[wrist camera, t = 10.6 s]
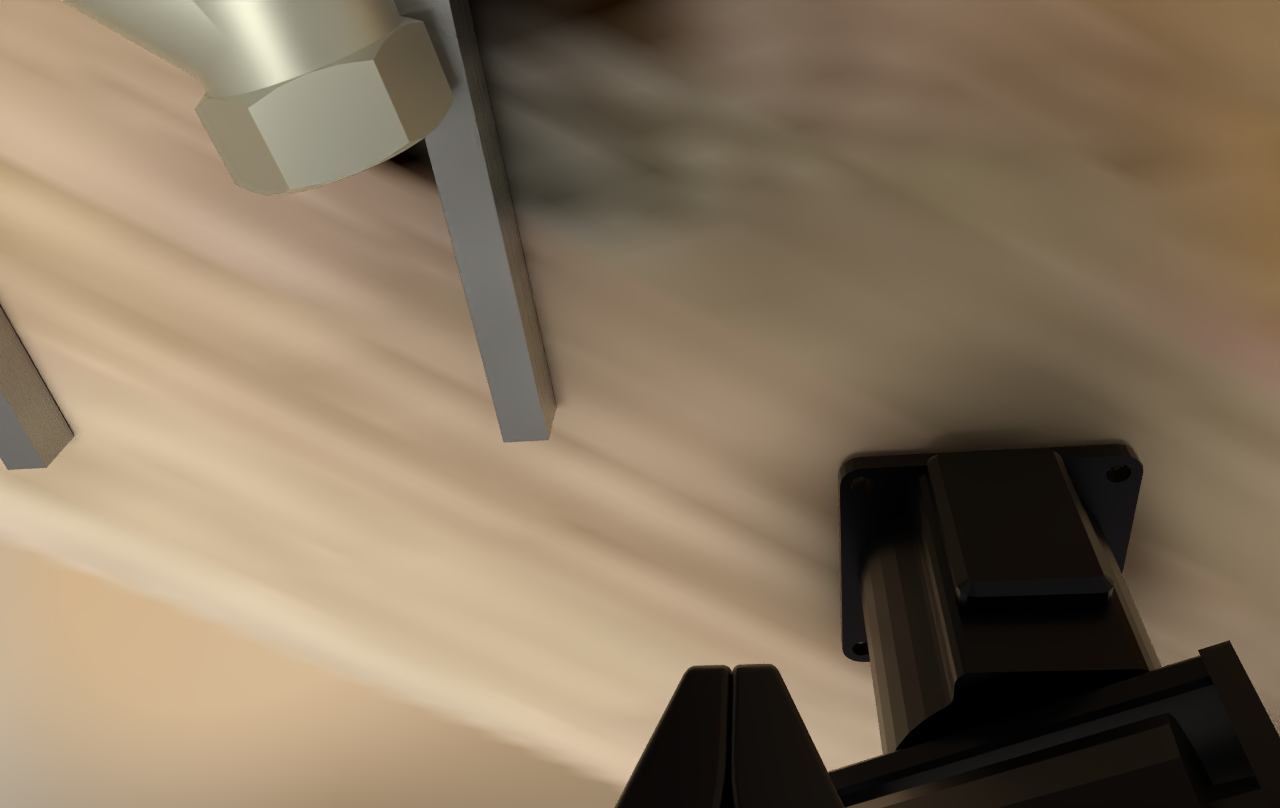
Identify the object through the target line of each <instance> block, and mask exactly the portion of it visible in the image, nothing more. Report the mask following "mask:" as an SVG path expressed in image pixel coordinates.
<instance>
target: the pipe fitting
mask: <svg viewBox="0 0 1280 808" xmlns="http://www.w3.org/2000/svg"><path fill="white" fill-rule="evenodd" d="M60 1H62V2H64V3H65V4H67V5H69V6H71V7H73V8H74V9H76V10H78V11H80V12H81V13H83V14H85V15H87V16H88V17H90V18H92V19H94V20H95V21H97V22H99V23H101V24H102V25H104V26H106V27H108V28H109V29H111V30H113V31H115V32H116V33H118V34H120V35H122V36H123V37H125V38H127V39H129V40H130V41H132V42H134V43H136V44H137V45H139V46H141V47H143V48H144V49H146V50H148V51H150V52H151V53H153V54H155V55H157V56H158V57H160V58H162V59H164V60H166V61H167V62H169V63H171V64H173V65H174V66H176V67H178V68H180V69H181V70H183V71H185V72H187V73H188V74H190V75H192V76H194V77H195V78H197V79H199V80H200V81H201V83H202V85H203V87H204V88H205V90H206V94H205V95H204V97H203V98H202V99H201V101H200V102H199V104H198V105H197V107H196V108H195V111H196V113H197V115H198V117H199V118H200V120H201V122H202V124H203V126H204V128H205V129H206V131H207V133H208V135H209V137H210V138H211V140H212V142H213V144H214V146H215V148H216V149H217V151H218V153H219V155H220V157H221V158H222V160H223V162H224V164H225V166H226V167H227V169H228V171H229V173H230V175H231V177H232V178H233V180H234V182H235V184H237V185H239V186H241V187H243V188H245V189H247V190H250V191H252V192H255V193H259V194H263V195H284V194H291V193H296V192H301V191H305V190H309V189H313V188H317V187H320V186H323V185H327V184H330V183H333V182H336V181H339V180H342V179H344V178H347V177H349V176H352V175H355V174H357V173H359V172H362V171H364V170H367V169H369V168H371V167H373V166H376V165H378V164H380V163H382V162H384V161H386V160H388V159H390V158H392V157H394V156H396V155H398V154H399V153H401V152H403V151H405V150H406V149H408V148H410V147H411V146H413V145H415V144H416V143H418V142H419V141H421V140H422V139H424V138H425V137H426V136H427V135H429V134H430V133H431V132H432V131H433V130H435V129H436V128H437V127H438V125H439V124H440V123H441V122H442V120H443V119H444V117H445V116H446V114H447V112H448V110H449V108H450V106H451V104H452V102H453V99H454V96H453V94H452V91H451V89H450V86H449V84H448V81H447V79H446V77H445V74H444V72H443V69H442V67H441V64H440V62H439V59H438V57H437V54H436V52H435V49H434V47H433V44H432V42H431V40H430V37H429V35H428V32H427V30H426V27H425V25H424V22H423V21H420V20H416V19H413V18H408V17H403V16H400V14H399V12H398V9H397V7H396V5H395V2H394V0H60Z"/></svg>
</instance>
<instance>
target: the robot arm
mask: <svg viewBox="0 0 1280 808" xmlns="http://www.w3.org/2000/svg"><path fill="white" fill-rule="evenodd" d="M1120 464H1122V465H1123V467H1121V468H1120V469H1118V470H1114V471H1108V470H1109V469H1110V468H1112V467H1113V466H1116V465H1120ZM1142 475H1143V465H1142V464H1141V462H1140V460H1139V458H1138V456H1137V454H1136V453H1135V451H1134V450H1133V449H1132V448H1130V447H1128V446H1126V445H1119V444H1113V445H1093V446H1073V447H1053V448H1034V449H1014V450H994V451H974V452H955V453H935V454H915V455H895V456H876V457H859V458H854V459H851V460H849V461H847V462H846V463H844V464H843V466H842V467H841V468H840V470H839V474H838V488H839V544H840V599H841V640H842V649H843V652H844V655H845V656H846V657H847V658H849V659H851V660H854V661H859V662H870V664H871V671H872V678H873V686H874V693H875V700H876V707H877V715H878V722H879V729H880V736H881V744H882V751H883V755H880V756H877V757H874V758H871V759H868V760H864V761H861V762H858V763H855V764H852V765H848V766H845V767H842V768H839V769H836V770H832V771H829V772H827V770H826V768H825V766H824V764H823V761H822V759H821V757H820V755H819V753H818V751H817V749H816V747H815V745H814V743H813V741H812V739H811V737H810V735H809V733H808V730H807V728H806V726H805V724H804V722H803V720H802V718H801V716H800V714H799V712H798V710H797V708H796V706H795V704H794V701H793V699H792V697H791V695H790V693H789V691H788V689H787V687H786V685H785V683H784V681H783V679H782V677H781V675H780V673H779V671H778V669H777V668H776V667H775V666H774V665H772V664H744V665H737V666H736V667H734V669H733V671H731V669H730V668H729V667H728V666H725V665H705V666H692V667H690V668H689V669H688V670H687V671H686V672H685V673H684V675H683V677H682V679H681V681H680V683H679V685H678V686H677V688H676V690H675V692H674V694H673V696H672V698H671V700H670V702H669V704H668V706H667V708H666V710H665V711H664V713H663V715H662V717H661V719H660V721H659V723H658V725H657V727H656V729H655V731H654V733H653V734H652V736H651V738H650V740H649V742H648V744H647V746H646V748H645V750H644V752H643V754H642V756H641V758H640V759H639V761H638V763H637V765H636V767H635V769H634V771H633V773H632V775H631V777H630V779H629V781H628V783H627V784H626V786H625V788H624V790H623V792H622V794H621V796H620V798H619V800H618V802H617V804H616V806H615V808H1280V737H1279V735H1278V733H1277V731H1276V729H1275V727H1274V725H1273V723H1272V721H1271V719H1270V718H1269V716H1268V714H1267V712H1266V710H1265V708H1264V706H1263V704H1262V702H1261V700H1260V698H1259V696H1258V694H1257V693H1256V691H1255V689H1254V687H1253V685H1252V683H1251V681H1250V679H1249V677H1248V675H1247V673H1246V671H1245V669H1244V668H1243V666H1242V664H1241V662H1240V660H1239V658H1238V656H1237V654H1236V652H1235V650H1234V648H1233V646H1232V644H1231V642H1230V641H1226V642H1223V643H1220V644H1216V645H1213V646H1210V647H1207V648H1204V649H1201V650H1198V651H1199V653H1200V656H1197V657H1194V658H1190V659H1187V660H1184V661H1181V662H1178V663H1174V664H1171V665H1168V666H1165V667H1162V666H1161V663H1160V661H1159V659H1158V657H1157V654H1156V652H1155V650H1154V647H1153V645H1152V643H1151V640H1150V638H1149V636H1148V633H1147V631H1146V629H1145V627H1144V624H1143V622H1142V620H1141V617H1140V615H1139V613H1138V610H1137V608H1136V606H1135V603H1134V601H1133V599H1132V597H1131V594H1130V592H1129V590H1128V587H1127V585H1126V583H1125V580H1124V578H1123V576H1122V572H1123V567H1124V562H1125V557H1126V552H1127V548H1128V543H1129V538H1130V533H1131V528H1132V523H1133V519H1134V514H1135V509H1136V504H1137V499H1138V494H1139V490H1140V485H1141V480H1142ZM859 477H867V478H869V480H868V481H866V482H862V483H857V482H854V480H855V479H856V478H859ZM860 642H865V643H861V644H860Z"/></svg>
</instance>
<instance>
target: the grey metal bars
mask: <svg viewBox="0 0 1280 808" xmlns="http://www.w3.org/2000/svg"><path fill="white" fill-rule="evenodd" d="M394 2H395V5H396V7H397V9H398V12H399V14H400V16H403V17H408V18H413V19H416V20H420V21H423V22H424V25H425V27H426V30H427V32H428V35H429V37H430V40H431V42H432V44H433V47H434V49H435V52H436V54H437V57H438V59H439V62H440V64H441V67H442V69H443V72H444V74H445V77H446V79H447V81H448V84H449V86H450V89H451V91H452V94H453V96H454V99H453V102H452V104H451V106H450V108H449V110H448V112H447V114H446V116H445V117H444V119H443V120H442V122H441V123H440V124H439V125H438V127H437V128H436V129H435V130H433V131H432V132H431V133H430V134H429V135H427V136H426V137H425V141H426V145H427V149H428V153H429V157H430V160H431V164H432V168H433V172H434V176H435V180H436V184H437V187H438V191H439V195H440V199H441V203H442V207H443V211H444V214H445V218H446V222H447V226H448V230H449V234H450V237H451V241H452V245H453V249H454V253H455V257H456V261H457V264H458V268H459V272H460V276H461V280H462V284H463V288H464V291H465V295H466V299H467V303H468V307H469V311H470V314H471V318H472V322H473V326H474V330H475V334H476V338H477V341H478V345H479V349H480V353H481V357H482V361H483V365H484V368H485V372H486V376H487V380H488V384H489V388H490V391H491V395H492V399H493V403H494V407H495V411H496V415H497V418H498V422H499V426H500V430H501V434H502V438H503V442H521V441H539V440H549V436H550V432H551V427H552V423H553V419H554V415H555V411H556V403H555V399H554V394H553V390H552V385H551V380H550V376H549V371H548V366H547V362H546V357H545V353H544V348H543V343H542V339H541V334H540V329H539V325H538V320H537V316H536V311H535V306H534V302H533V297H532V292H531V288H530V283H529V279H528V274H527V269H526V265H525V260H524V255H523V251H522V246H521V242H520V237H519V232H518V228H517V223H516V218H515V214H514V209H513V205H512V200H511V195H510V191H509V186H508V181H507V177H506V172H505V168H504V163H503V158H502V154H501V149H500V144H499V140H498V135H497V131H496V126H495V121H494V117H493V112H492V107H491V103H490V98H489V94H488V89H487V84H486V80H485V75H484V70H483V66H482V61H481V57H480V52H479V47H478V43H477V38H476V33H475V29H474V24H473V20H472V15H471V10H470V6H469V1H468V0H394ZM73 437H74V435H73V434H72V432H71V430H70V428H69V427H68V425H67V423H66V421H65V420H64V418H63V416H62V414H61V413H60V411H59V409H58V407H57V405H56V404H55V402H54V400H53V398H52V397H51V395H50V393H49V391H48V390H47V388H46V386H45V384H44V383H43V381H42V379H41V377H40V376H39V374H38V372H37V370H36V369H35V367H34V365H33V363H32V361H31V360H30V358H29V356H28V354H27V353H26V351H25V349H24V347H23V346H22V344H21V342H20V340H19V339H18V337H17V335H16V333H15V332H14V330H13V328H12V326H11V325H10V323H9V321H8V319H7V317H6V316H5V314H4V312H3V310H2V309H1V307H0V458H1V460H2V461H3V463H4V464H5V466H6V467H7V469H8V470H14V469H32V468H47V467H48V466H49V464H50V463H51V462H52V461H53V460H54V459H55V458H56V456H57V455H58V454H59V453H60V452H61V451H62V450H63V448H64V447H65V446H66V445H67V444H68V443H69V442H70V440H71V439H72V438H73Z"/></svg>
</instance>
